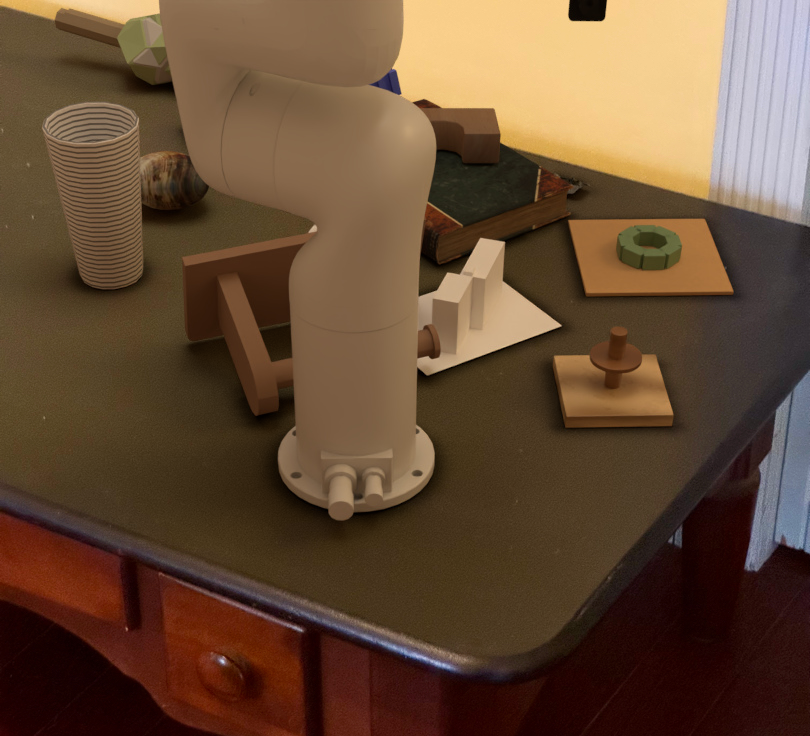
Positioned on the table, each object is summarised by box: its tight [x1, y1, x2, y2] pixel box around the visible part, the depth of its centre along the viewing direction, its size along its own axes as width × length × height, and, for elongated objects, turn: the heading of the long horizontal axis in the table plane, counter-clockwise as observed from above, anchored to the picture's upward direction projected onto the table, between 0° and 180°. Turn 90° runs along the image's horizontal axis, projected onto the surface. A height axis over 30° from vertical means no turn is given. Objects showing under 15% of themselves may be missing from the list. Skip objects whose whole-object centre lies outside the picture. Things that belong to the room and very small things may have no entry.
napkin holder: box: [417, 238, 563, 376], centre depth 131 cm, size 15×11×6 cm
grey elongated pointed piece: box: [552, 172, 591, 195], centre depth 152 cm, size 6×2×3 cm
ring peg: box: [552, 326, 674, 429], centre depth 122 cm, size 9×9×7 cm
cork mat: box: [567, 218, 734, 297], centre depth 142 cm, size 14×14×1 cm
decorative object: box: [54, 7, 173, 86], centre depth 169 cm, size 9×10×25 cm
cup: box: [41, 101, 144, 290], centre depth 133 cm, size 8×8×16 cm
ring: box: [616, 225, 682, 270], centre depth 141 cm, size 6×6×2 cm
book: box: [411, 98, 574, 265], centre depth 150 cm, size 17×4×25 cm
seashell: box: [140, 150, 210, 211], centre depth 146 cm, size 10×6×8 cm
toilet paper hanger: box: [181, 216, 441, 417], centre depth 124 cm, size 22×13×10 cm, turn 111°
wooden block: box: [420, 107, 502, 163], centre depth 149 cm, size 7×3×15 cm
